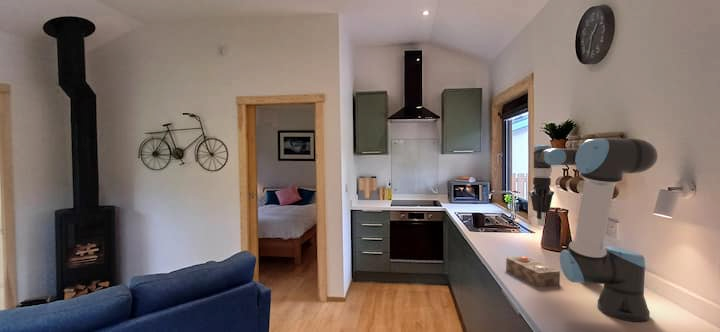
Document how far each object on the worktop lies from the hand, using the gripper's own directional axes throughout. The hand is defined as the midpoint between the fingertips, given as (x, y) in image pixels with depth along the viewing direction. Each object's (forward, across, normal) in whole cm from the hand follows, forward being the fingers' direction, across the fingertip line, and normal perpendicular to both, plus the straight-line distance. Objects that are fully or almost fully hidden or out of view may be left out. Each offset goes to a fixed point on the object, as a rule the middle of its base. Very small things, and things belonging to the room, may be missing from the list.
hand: (541, 225), depth 162 cm
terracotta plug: (+22, +7, -3) cm, 23 cm away
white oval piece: (+23, +7, +7) cm, 26 cm away
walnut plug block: (+24, +7, +2) cm, 25 cm away
